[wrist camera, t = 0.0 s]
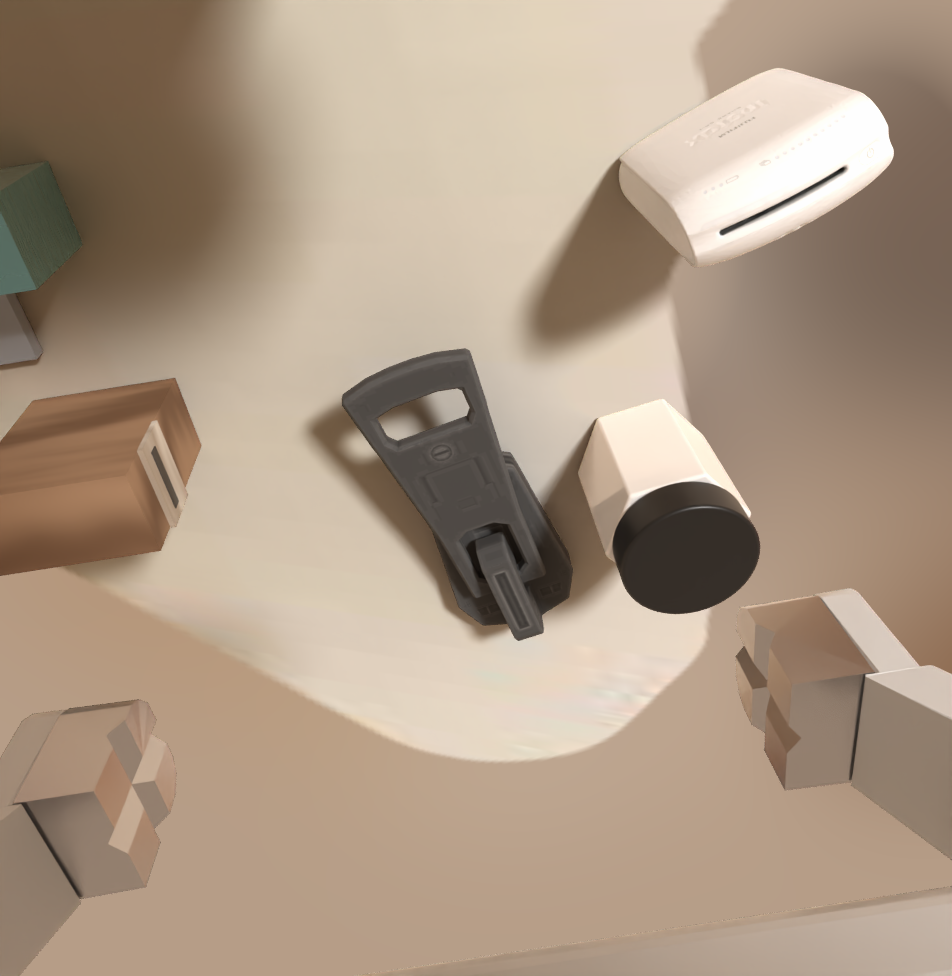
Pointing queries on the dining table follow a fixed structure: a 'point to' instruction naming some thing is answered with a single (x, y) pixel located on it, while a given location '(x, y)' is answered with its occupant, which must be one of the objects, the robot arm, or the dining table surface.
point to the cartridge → (32, 227)
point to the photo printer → (755, 164)
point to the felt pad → (16, 333)
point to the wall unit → (94, 476)
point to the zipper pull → (468, 495)
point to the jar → (667, 510)
